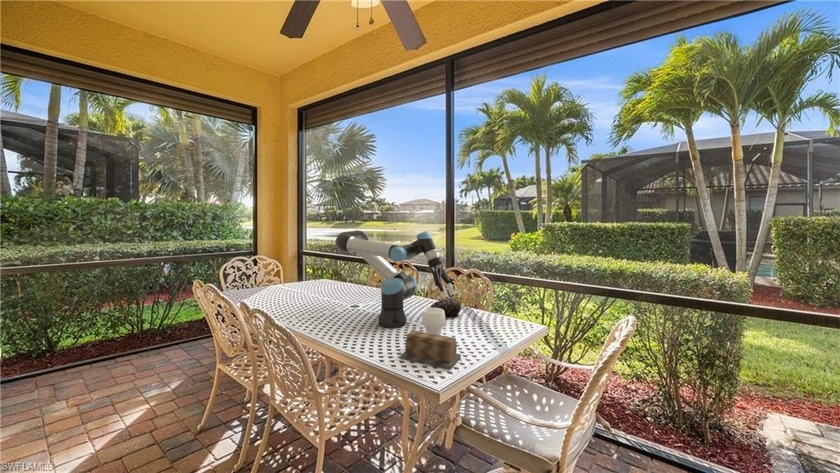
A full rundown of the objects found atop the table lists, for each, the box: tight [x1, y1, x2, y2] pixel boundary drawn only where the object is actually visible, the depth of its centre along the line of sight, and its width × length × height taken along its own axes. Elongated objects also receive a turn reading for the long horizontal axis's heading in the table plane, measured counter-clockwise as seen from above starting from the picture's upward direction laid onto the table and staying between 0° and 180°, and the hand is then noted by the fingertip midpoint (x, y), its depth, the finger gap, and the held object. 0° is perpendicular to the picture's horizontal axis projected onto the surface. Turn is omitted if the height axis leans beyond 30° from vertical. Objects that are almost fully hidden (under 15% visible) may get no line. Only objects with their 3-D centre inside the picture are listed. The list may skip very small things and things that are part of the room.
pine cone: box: [430, 297, 462, 318], centre depth 201 cm, size 10×18×10 cm, turn 78°
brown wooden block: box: [400, 329, 462, 371], centre depth 145 cm, size 22×12×10 cm, turn 64°
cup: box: [421, 307, 446, 336], centre depth 162 cm, size 11×11×15 cm
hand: (449, 296), depth 183 cm, fingers open, 13 cm apart
